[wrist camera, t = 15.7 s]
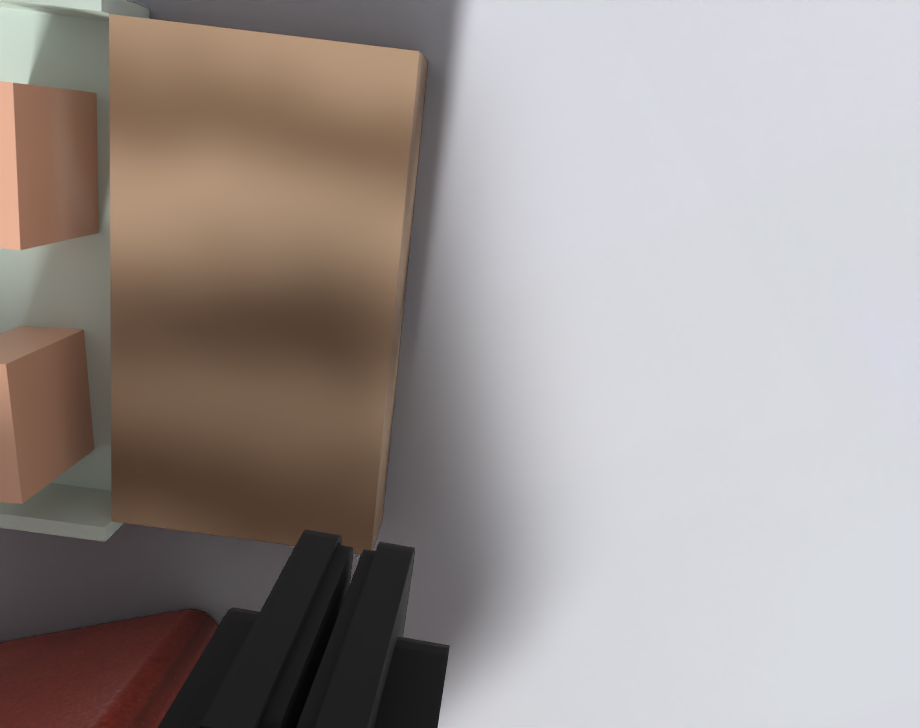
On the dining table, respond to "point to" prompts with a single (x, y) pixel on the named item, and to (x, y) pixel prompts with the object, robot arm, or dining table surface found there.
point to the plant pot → (101, 672)
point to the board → (257, 276)
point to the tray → (67, 252)
